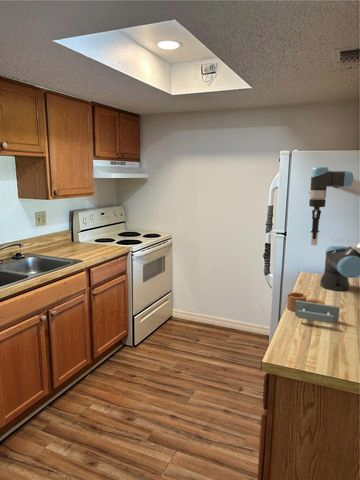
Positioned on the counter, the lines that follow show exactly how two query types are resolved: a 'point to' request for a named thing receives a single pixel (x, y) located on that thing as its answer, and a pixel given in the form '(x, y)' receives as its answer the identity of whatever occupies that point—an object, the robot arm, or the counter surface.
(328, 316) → the plate
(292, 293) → the bracket
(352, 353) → the counter surface
